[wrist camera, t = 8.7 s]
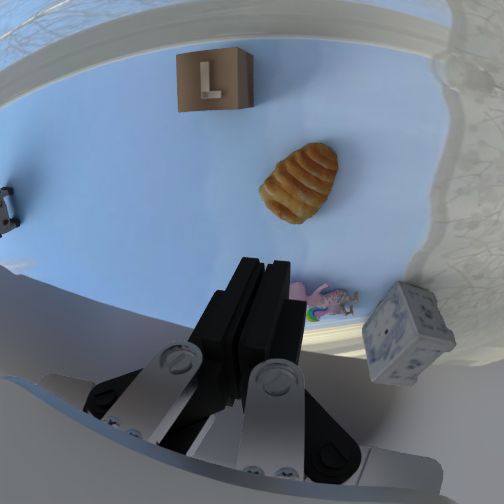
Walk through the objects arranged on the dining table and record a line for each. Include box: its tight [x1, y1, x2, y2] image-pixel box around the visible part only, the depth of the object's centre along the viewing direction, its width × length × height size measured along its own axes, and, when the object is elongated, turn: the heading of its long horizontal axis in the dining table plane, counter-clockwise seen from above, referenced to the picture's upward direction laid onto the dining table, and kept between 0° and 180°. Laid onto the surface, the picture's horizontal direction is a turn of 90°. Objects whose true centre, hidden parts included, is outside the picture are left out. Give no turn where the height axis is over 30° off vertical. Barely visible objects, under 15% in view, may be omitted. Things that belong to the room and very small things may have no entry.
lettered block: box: [176, 47, 254, 112], centre depth 26 cm, size 6×6×6 cm
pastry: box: [259, 143, 338, 224], centre depth 31 cm, size 9×7×4 cm
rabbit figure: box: [289, 281, 359, 322], centre depth 37 cm, size 6×6×15 cm
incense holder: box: [362, 281, 456, 386], centre depth 33 cm, size 10×8×10 cm
